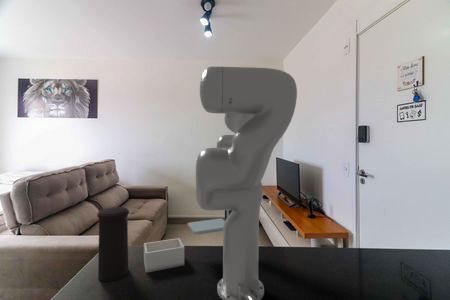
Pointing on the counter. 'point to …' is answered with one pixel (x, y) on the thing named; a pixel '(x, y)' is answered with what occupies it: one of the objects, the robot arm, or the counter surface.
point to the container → (113, 243)
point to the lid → (208, 225)
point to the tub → (163, 254)
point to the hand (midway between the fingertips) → (230, 219)
